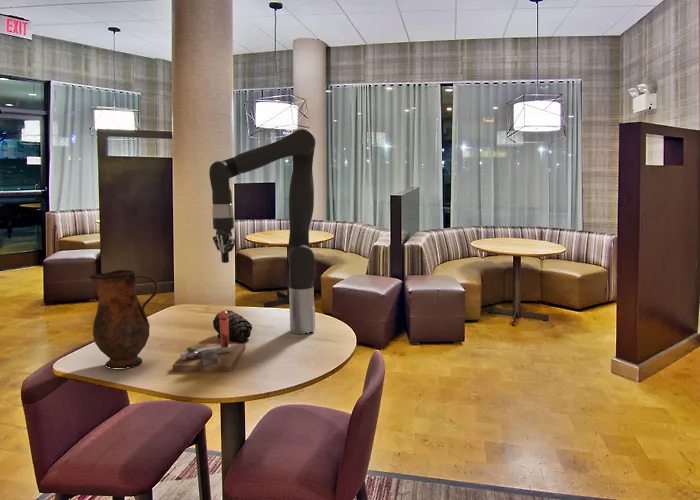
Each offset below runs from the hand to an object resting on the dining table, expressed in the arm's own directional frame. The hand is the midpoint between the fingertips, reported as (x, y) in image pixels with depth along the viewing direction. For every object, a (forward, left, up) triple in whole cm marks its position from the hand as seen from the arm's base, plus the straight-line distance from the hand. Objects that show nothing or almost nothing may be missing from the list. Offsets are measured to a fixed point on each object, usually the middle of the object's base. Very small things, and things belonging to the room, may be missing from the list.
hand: (225, 262), depth 200 cm
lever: (-1, +30, -25) cm, 39 cm away
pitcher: (+23, +33, -27) cm, 49 cm away
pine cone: (-4, +7, -27) cm, 28 cm away
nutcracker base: (-2, +29, -27) cm, 40 cm away
